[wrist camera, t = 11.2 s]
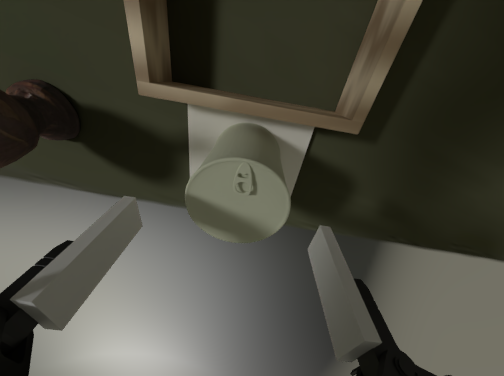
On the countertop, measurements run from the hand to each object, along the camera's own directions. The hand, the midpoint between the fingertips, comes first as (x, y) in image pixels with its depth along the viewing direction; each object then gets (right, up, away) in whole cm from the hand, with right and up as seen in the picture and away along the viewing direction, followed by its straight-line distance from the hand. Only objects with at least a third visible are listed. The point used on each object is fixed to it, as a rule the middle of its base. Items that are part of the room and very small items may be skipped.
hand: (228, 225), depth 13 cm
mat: (+1, +8, +12) cm, 15 cm away
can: (+1, +7, +12) cm, 14 cm away
